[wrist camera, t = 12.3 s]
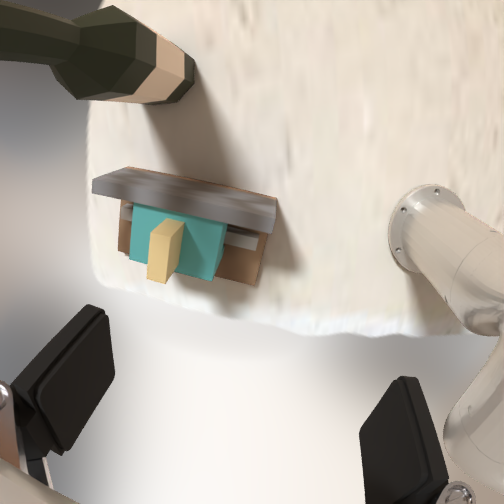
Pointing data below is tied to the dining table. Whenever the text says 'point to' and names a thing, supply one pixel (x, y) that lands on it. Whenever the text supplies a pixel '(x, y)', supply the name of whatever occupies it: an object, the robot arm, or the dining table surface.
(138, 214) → the teal block
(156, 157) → the dining table surface
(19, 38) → the wine bottle
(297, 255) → the dining table surface
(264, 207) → the wall board
